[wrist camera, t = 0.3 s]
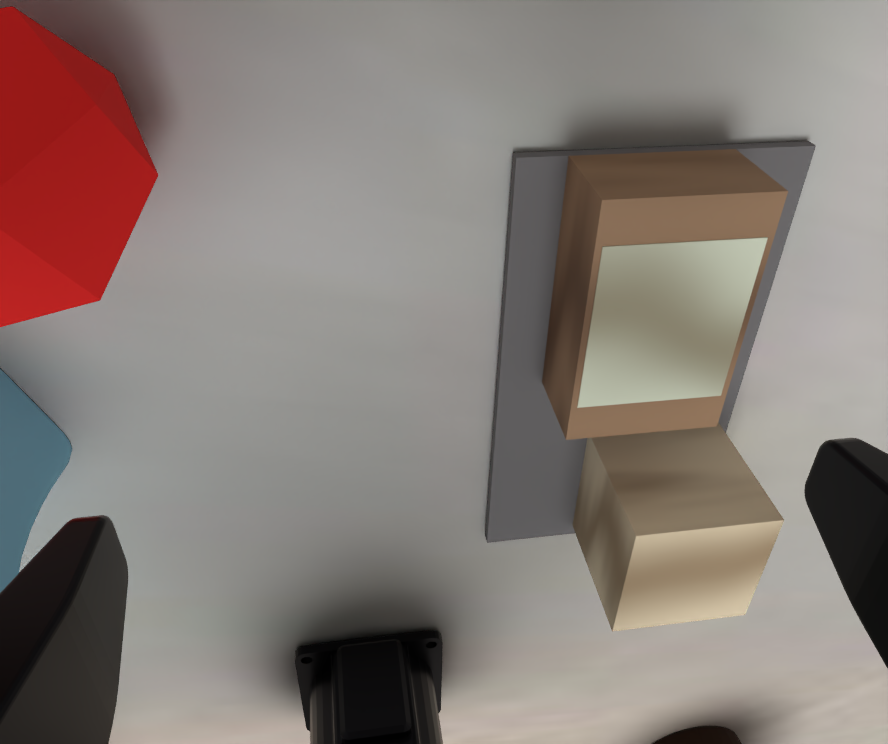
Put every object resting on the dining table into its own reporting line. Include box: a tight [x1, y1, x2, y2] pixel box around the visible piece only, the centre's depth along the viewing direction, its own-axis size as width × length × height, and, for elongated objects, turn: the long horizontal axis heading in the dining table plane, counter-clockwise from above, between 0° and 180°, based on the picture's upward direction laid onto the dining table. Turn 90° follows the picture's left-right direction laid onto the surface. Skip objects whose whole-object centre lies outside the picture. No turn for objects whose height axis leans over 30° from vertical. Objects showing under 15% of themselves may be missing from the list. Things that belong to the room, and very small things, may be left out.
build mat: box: [485, 141, 816, 542], centre depth 27 cm, size 16×9×1 cm, turn 179°
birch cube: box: [573, 423, 784, 631], centre depth 28 cm, size 5×5×5 cm
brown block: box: [542, 149, 788, 440], centre depth 23 cm, size 8×5×3 cm, turn 179°
